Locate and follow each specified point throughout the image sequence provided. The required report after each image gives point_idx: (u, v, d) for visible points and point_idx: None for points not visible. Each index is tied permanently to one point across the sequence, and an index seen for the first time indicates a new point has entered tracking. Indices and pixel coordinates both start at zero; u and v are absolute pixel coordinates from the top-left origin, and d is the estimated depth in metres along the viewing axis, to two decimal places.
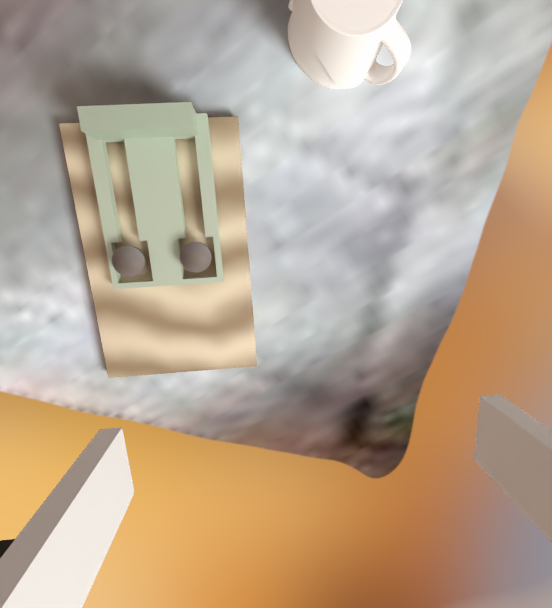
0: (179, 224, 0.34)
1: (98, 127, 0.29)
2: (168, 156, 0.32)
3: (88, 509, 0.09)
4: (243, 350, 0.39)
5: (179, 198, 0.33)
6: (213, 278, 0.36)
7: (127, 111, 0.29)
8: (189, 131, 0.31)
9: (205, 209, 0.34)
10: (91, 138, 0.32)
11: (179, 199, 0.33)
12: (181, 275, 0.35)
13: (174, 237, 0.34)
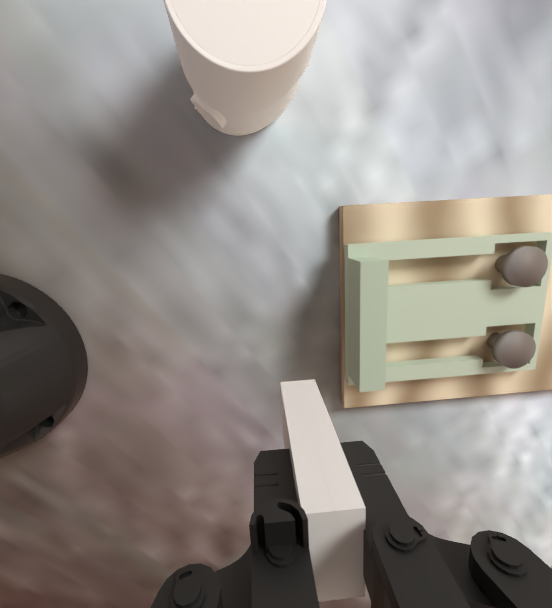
0: (473, 286, 0.26)
1: (382, 372, 0.24)
2: (394, 295, 0.26)
3: None
4: None
5: (442, 284, 0.26)
6: (548, 245, 0.26)
7: (367, 338, 0.24)
8: None
9: (460, 251, 0.26)
10: None
11: (444, 284, 0.26)
12: (535, 287, 0.27)
13: (488, 293, 0.27)
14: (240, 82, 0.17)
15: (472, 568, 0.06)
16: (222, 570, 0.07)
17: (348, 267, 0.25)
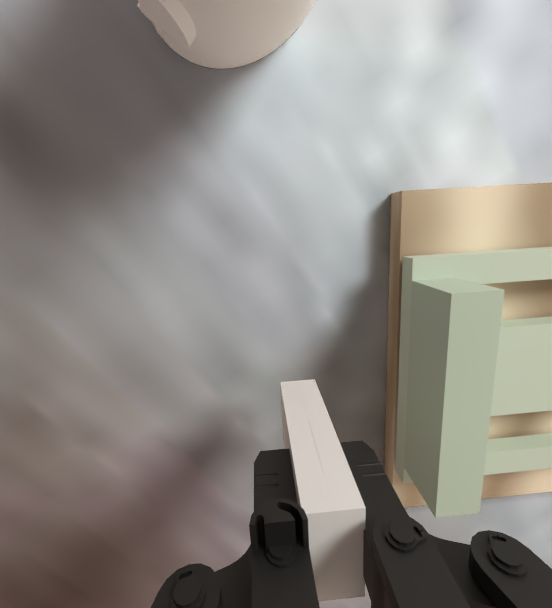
0: None
1: (477, 484, 0.14)
2: None
3: None
4: None
5: None
6: None
7: (455, 429, 0.13)
8: None
9: None
10: None
11: None
12: None
13: None
14: None
15: (472, 568, 0.06)
16: (222, 570, 0.07)
17: (412, 297, 0.15)
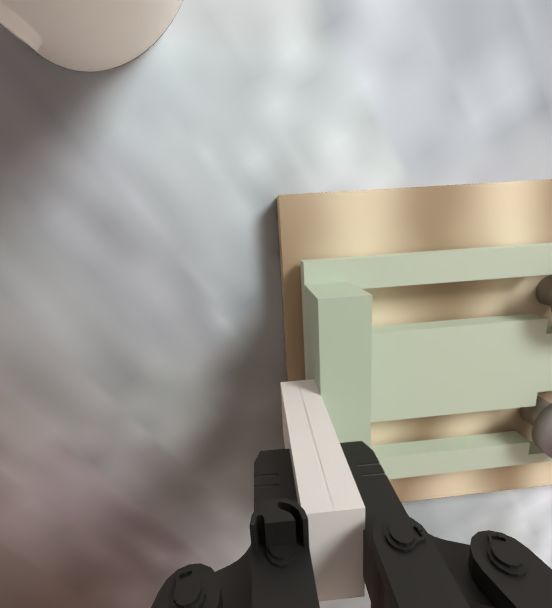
0: (519, 329, 0.16)
1: None
2: (385, 345, 0.15)
3: None
4: None
5: (467, 326, 0.16)
6: None
7: None
8: None
9: (498, 272, 0.15)
10: None
11: (469, 326, 0.16)
12: None
13: (542, 339, 0.16)
14: None
15: (472, 568, 0.06)
16: (222, 570, 0.07)
17: (305, 302, 0.14)
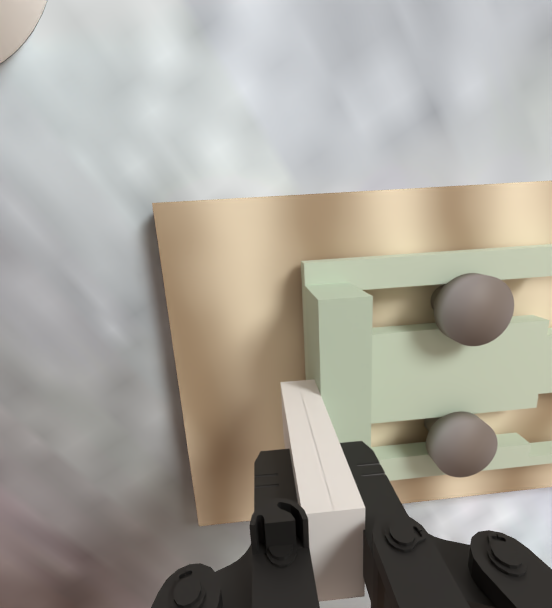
0: (520, 331, 0.16)
1: None
2: (385, 346, 0.15)
3: None
4: None
5: None
6: None
7: None
8: None
9: (499, 273, 0.15)
10: None
11: None
12: None
13: (543, 341, 0.16)
14: None
15: (472, 568, 0.06)
16: (222, 570, 0.07)
17: (305, 302, 0.14)
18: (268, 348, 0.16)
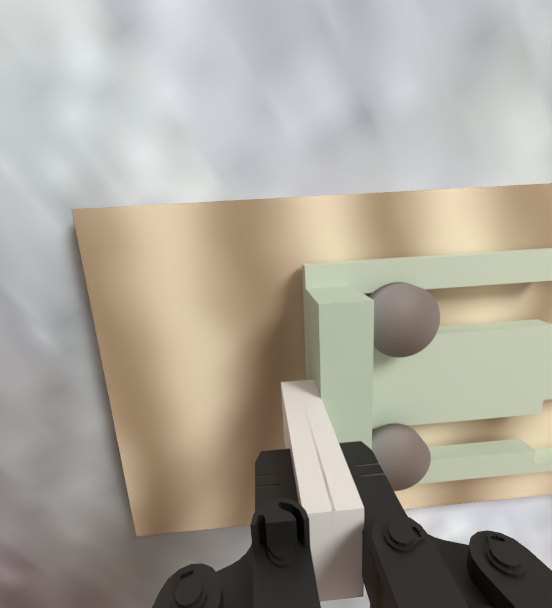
0: (524, 335, 0.15)
1: None
2: None
3: None
4: None
5: (471, 332, 0.15)
6: None
7: None
8: None
9: (503, 277, 0.15)
10: None
11: (474, 332, 0.15)
12: None
13: (548, 346, 0.16)
14: None
15: (471, 568, 0.06)
16: (223, 570, 0.07)
17: (306, 306, 0.14)
18: (199, 357, 0.16)
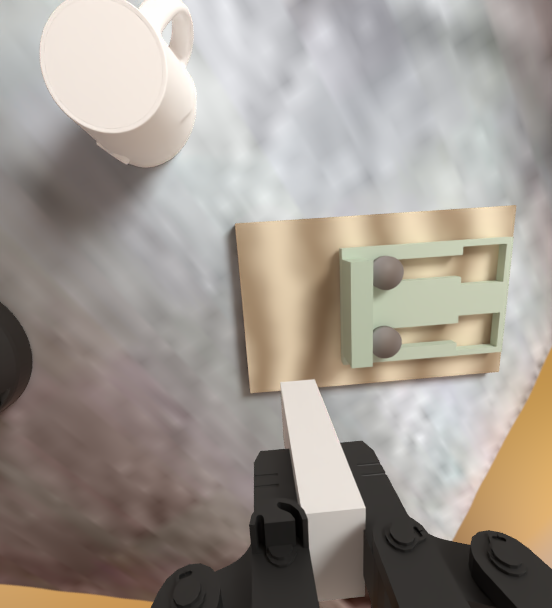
0: (446, 282, 0.32)
1: (370, 351, 0.30)
2: (380, 289, 0.32)
3: None
4: (493, 221, 0.32)
5: (420, 280, 0.32)
6: (507, 247, 0.31)
7: (357, 324, 0.29)
8: None
9: (434, 253, 0.31)
10: None
11: (421, 280, 0.32)
12: (498, 282, 0.32)
13: (459, 287, 0.32)
14: (112, 138, 0.22)
15: (472, 568, 0.06)
16: (222, 570, 0.07)
17: (342, 267, 0.31)
18: (288, 294, 0.33)
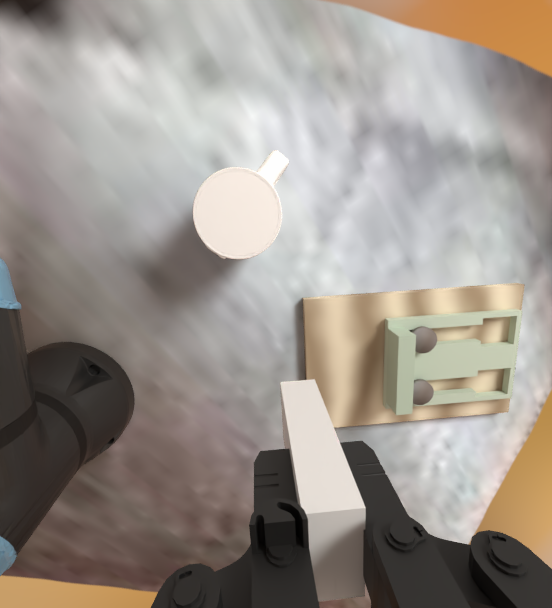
0: (469, 345, 0.40)
1: (410, 402, 0.38)
2: None
3: None
4: (506, 297, 0.41)
5: (449, 344, 0.40)
6: (517, 318, 0.40)
7: (402, 382, 0.37)
8: None
9: (460, 323, 0.40)
10: None
11: (449, 344, 0.40)
12: (510, 345, 0.41)
13: (478, 349, 0.41)
14: None
15: (472, 568, 0.06)
16: (222, 570, 0.07)
17: (388, 334, 0.39)
18: (342, 353, 0.41)
